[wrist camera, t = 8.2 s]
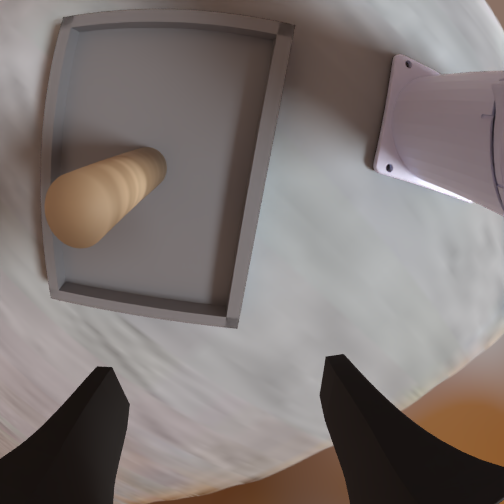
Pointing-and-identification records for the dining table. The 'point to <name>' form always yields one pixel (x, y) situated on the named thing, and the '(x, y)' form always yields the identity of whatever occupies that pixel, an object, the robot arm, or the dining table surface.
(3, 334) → the dining table surface
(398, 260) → the dining table surface
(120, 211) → the dowel pin
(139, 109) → the charcoal tray
